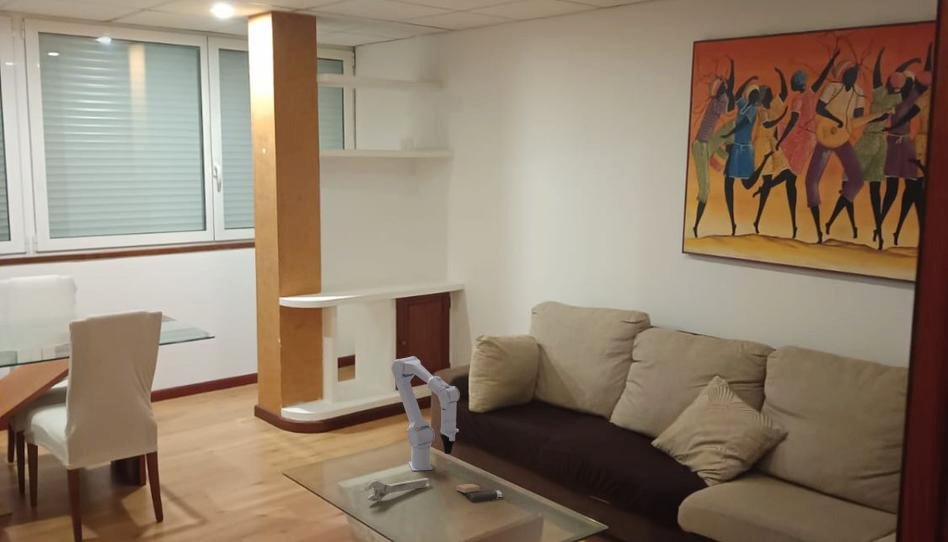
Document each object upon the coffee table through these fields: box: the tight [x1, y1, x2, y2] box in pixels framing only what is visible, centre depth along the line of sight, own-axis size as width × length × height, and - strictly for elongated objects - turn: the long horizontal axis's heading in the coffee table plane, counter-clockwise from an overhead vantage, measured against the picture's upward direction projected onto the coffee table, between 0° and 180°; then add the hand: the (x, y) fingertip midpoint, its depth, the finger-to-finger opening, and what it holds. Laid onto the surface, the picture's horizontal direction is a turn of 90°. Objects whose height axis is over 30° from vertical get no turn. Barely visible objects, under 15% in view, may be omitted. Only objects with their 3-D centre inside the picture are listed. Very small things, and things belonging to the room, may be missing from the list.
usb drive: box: [466, 488, 503, 503], centre depth 293 cm, size 5×12×3 cm, turn 111°
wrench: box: [364, 477, 432, 503], centre depth 293 cm, size 8×2×30 cm
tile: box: [455, 483, 481, 494], centre depth 297 cm, size 2×6×8 cm
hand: (447, 453), depth 311 cm, fingers closed
